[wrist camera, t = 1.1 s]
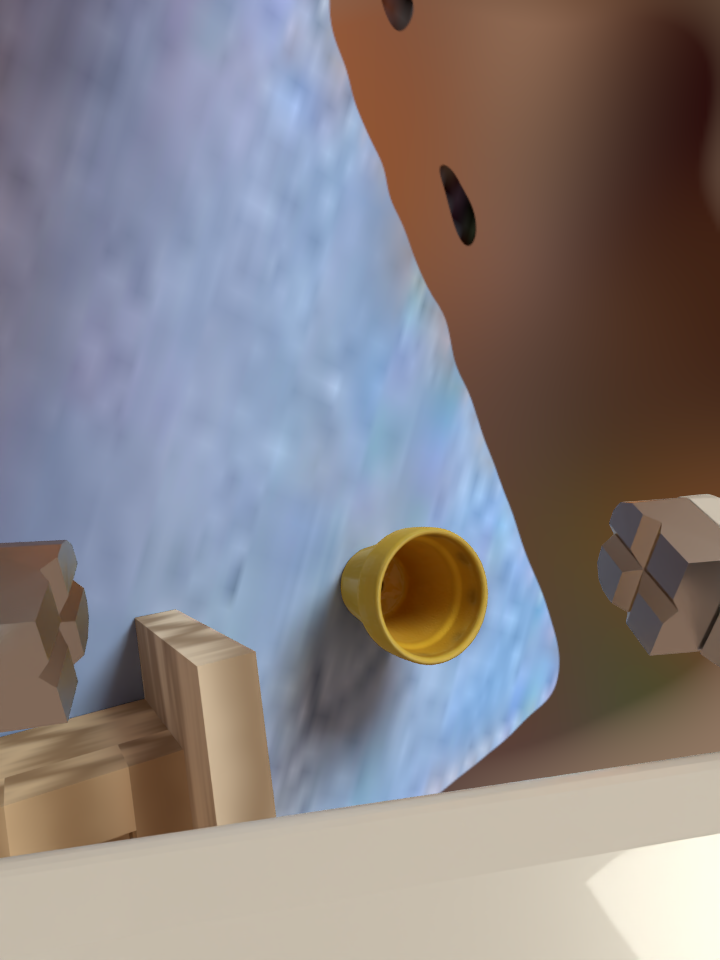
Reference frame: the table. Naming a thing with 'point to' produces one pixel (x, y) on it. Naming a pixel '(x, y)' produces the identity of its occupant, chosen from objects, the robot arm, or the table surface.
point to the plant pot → (418, 593)
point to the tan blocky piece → (146, 751)
